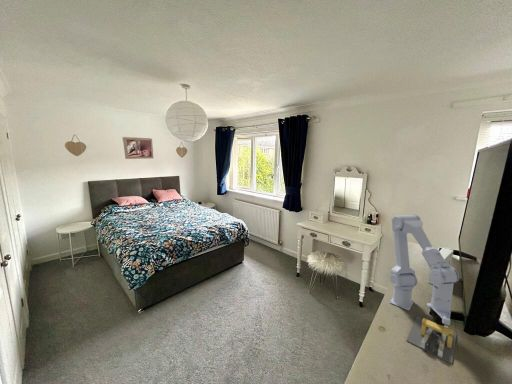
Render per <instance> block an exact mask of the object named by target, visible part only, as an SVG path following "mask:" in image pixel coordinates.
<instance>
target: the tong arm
mask: <svg viewBox="0 0 512 384" xmlns="http://www.w3.org/2000/svg"><path fill="white" fill-rule="evenodd" d="M433 331H434V329H431V328H429V329H428V331H427V332H426V334H425V336H424V337H423V339H422V341H421V346H420V347H422V348H423V349H425V350H427V351H428V349H429V346H430V342H429V340H430V338H431V336H432V334H433ZM423 349H422V350H423ZM425 350H424V351H425ZM427 351H426V352H427Z"/></svg>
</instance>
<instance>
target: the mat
mask: <svg viewBox="0 0 512 384" xmlns="http://www.w3.org/2000/svg"><path fill="white" fill-rule="evenodd" d="M422 321H423V318H422V317H420V316H415V319H414V321H413V323H412V327H411V329H410V330H409V331H410V332H409V333H408V336H407V339H406V342H407V343H409V344H411V345H413V346H415V347H417V348H419V349H421V350H423V351H425V352H427V353H429V354H431V355H433V356H435V357H437V358H439V359H441V360H443V361H445V362H447V363H449V364H451V365H452V364H453V360H454V355H455V346H456V341H457V335H458V333H457V332H456V331H454V332H453V339H452V346H451V348H449V347H447V340H448V336H446V341H445V346H444V351H443V356H442V358H441V357H439V356H437V355H435V354H434V347H435V344H437V345H440V340H441V336H442V335H438V334H436V333H435V330H434V331H433V334H432V336H431V338H430V340H429V342H430V346H429V349H428V351H427V350H425V349H423V348H422V347H420V346H421V341H422V339H423V337H424V336H423V335H421V327H422ZM428 329H429V327H426V332H427V331H428ZM425 334H426V333H425Z"/></svg>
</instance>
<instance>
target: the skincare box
mask: <svg viewBox="0 0 512 384" xmlns="http://www.w3.org/2000/svg"><path fill="white" fill-rule="evenodd" d="M438 251H439V252H440V253H441V255H442V257H443V258H444V260H445V261H446V263H447V264H449V265H450V266H451V267H452V260H453V257H454V255H453V254H454V250H453V249H451V248H446V247H442V248H441V249H440V250H438ZM430 271H431V268H430ZM430 271H429V272H430ZM427 282H428V283H429V284H431V285H433V284H432V278H431V275H430V274H429V277H428V281H427Z"/></svg>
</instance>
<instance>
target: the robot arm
mask: <svg viewBox="0 0 512 384" xmlns="http://www.w3.org/2000/svg"><path fill="white" fill-rule="evenodd" d="M421 219H422V218H421V217H420V216H419V215H418V214H402V215H401V214H396V215H394V216H393V217H392V218H391V228H392V229H391V230H392V232H393V233H392V234H393V242H394V243H393V244H394V254H395V255H394V257H395V266H393V267H392V268H391V269H390V276H389V279H390V280H389V281H390V282H391V284H392V286H393V290H392V291H393V293H392V298H391V299H390V300H389V303H390V304H391V305H394V306H397V307H398V308H401V309H404V310H407V311H411V308H412V306H413V304H414V302H415V300H413V298H412V296H413V289H415V287H416V286H417V285H418V278H417V276H416V271H415V270H414V269H413V268H411V267H410V257H409V255H410V254H409V246H408V245H409V244H408V237H407V236H408V234H411V235H412V236H413V238H414V239H415V241H416V242H417V243H418V245H419V246H420V248H421V249H422V251H421V255H422V257H423V259H424V260H425V262H426V264H427V265H428V267H429V268H430V269H431V271H429V276H430V275H431V278H432V284H431V285H432V289H431V290H432V291H431V298H430V299H431V300H430V302H427V303H426V306H427V307H428V308H429V310H430V312H431V316H432V322H434V323H437V324H439V325H441V326H444V325H445V326H451V319H452V318H451V313H452V309H451V307H452V302H453V301H452V300H453V291H454V283H458V281H460V275H459V272H458V271H457V269H456V268H455V267H453V266H452V265H451V266H450V265H449V264H447V263H446V261H445V260H444V258H443V257H442V255H441V253H440V252H439V251H440V250H439V249H438V248H436V247H434V246H432V244H431V241H430V240H429V238H428V236H427V234H426V232H425V230H424V228H423V226H424V225H423V224H424V223H423V221H422V220H421Z"/></svg>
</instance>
